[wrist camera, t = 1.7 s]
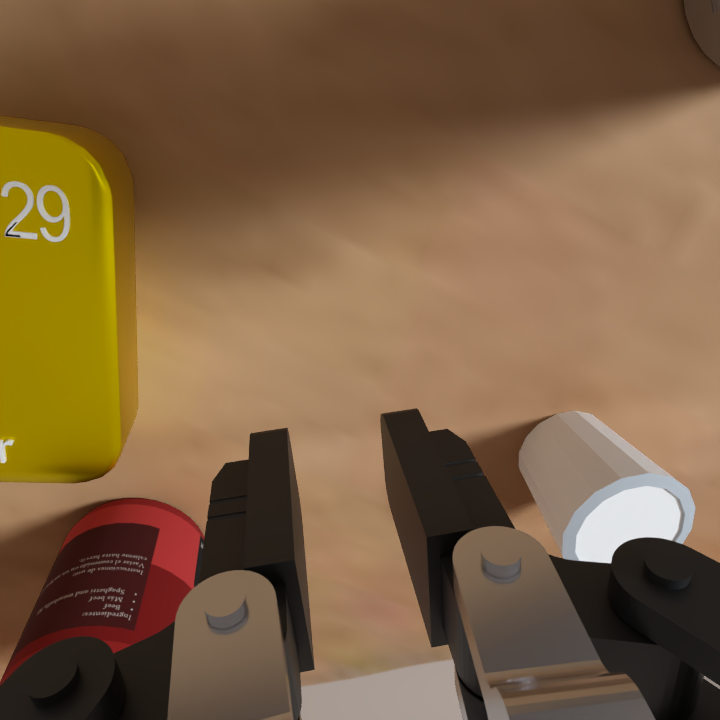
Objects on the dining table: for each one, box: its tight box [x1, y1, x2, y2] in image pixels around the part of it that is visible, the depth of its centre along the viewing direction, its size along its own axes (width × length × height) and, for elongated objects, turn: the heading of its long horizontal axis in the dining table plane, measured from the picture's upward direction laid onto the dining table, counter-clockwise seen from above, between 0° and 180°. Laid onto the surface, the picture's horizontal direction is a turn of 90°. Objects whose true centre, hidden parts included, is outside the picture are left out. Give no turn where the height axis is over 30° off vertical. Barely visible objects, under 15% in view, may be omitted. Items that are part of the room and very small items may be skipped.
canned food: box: [0, 498, 204, 685], centre depth 28 cm, size 8×8×11 cm
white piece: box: [519, 411, 695, 563], centre depth 31 cm, size 7×7×7 cm
